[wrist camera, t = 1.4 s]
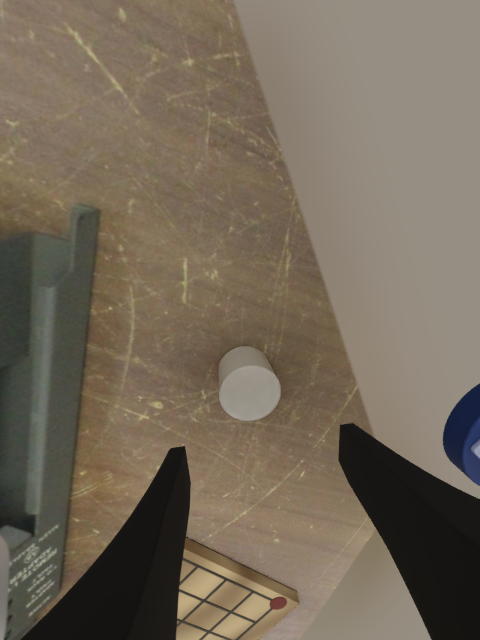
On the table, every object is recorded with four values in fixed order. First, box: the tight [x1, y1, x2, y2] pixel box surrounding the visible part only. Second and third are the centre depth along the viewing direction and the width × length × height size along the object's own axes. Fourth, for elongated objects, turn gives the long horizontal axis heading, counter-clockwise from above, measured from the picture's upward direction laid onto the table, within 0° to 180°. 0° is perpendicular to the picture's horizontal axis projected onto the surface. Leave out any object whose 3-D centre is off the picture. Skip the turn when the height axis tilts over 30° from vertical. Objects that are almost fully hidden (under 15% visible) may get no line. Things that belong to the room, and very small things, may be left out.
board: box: [176, 538, 300, 640], centre depth 26 cm, size 18×24×1 cm
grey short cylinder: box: [218, 346, 281, 421], centre depth 18 cm, size 4×4×3 cm
